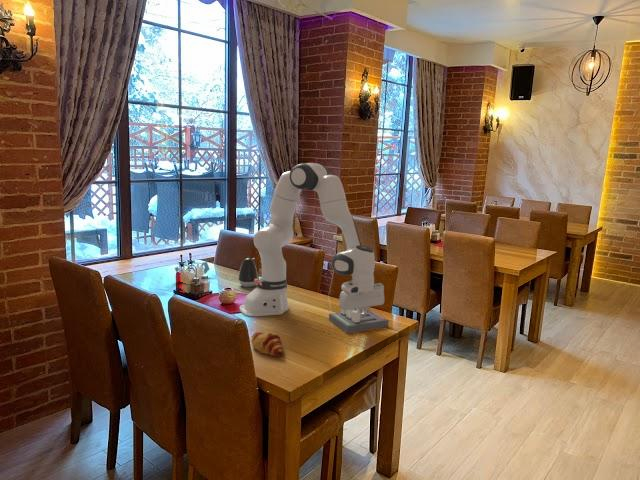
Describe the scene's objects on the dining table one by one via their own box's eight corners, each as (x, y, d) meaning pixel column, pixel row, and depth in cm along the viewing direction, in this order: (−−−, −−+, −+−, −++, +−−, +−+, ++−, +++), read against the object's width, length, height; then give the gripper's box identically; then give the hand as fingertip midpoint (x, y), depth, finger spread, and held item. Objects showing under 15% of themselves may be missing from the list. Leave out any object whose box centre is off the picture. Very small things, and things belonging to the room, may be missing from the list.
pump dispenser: (262, 285, 255) (262, 257, 252) (249, 289, 247) (249, 261, 244) (247, 281, 260) (247, 254, 258) (234, 286, 252) (234, 258, 249)
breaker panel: (346, 333, 193) (347, 326, 193) (328, 320, 207) (329, 313, 207) (388, 326, 202) (388, 319, 201) (368, 314, 216) (368, 307, 215)
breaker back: (343, 314, 205) (344, 305, 204) (340, 312, 207) (341, 303, 206) (348, 313, 206) (349, 305, 205) (345, 311, 208) (345, 303, 207)
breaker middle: (349, 318, 200) (349, 309, 200) (346, 316, 203) (346, 307, 202) (354, 317, 201) (354, 308, 201) (351, 315, 204) (351, 306, 203)
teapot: (202, 284, 254) (201, 264, 252) (174, 282, 255) (173, 263, 253) (210, 276, 269) (209, 257, 267) (184, 275, 270) (183, 256, 268)
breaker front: (354, 322, 196) (355, 313, 195) (351, 320, 198) (351, 311, 198) (359, 321, 197) (360, 312, 196) (356, 319, 199) (356, 310, 199)
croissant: (247, 349, 184) (238, 333, 181) (267, 332, 189) (259, 317, 185) (275, 369, 168) (266, 352, 164) (297, 350, 172) (288, 334, 169)
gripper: (379, 280, 203) (378, 311, 206) (337, 285, 194) (336, 318, 197) (388, 284, 198) (386, 316, 201) (345, 290, 189) (344, 323, 191)
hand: (361, 317), depth 199 cm, fingers closed
